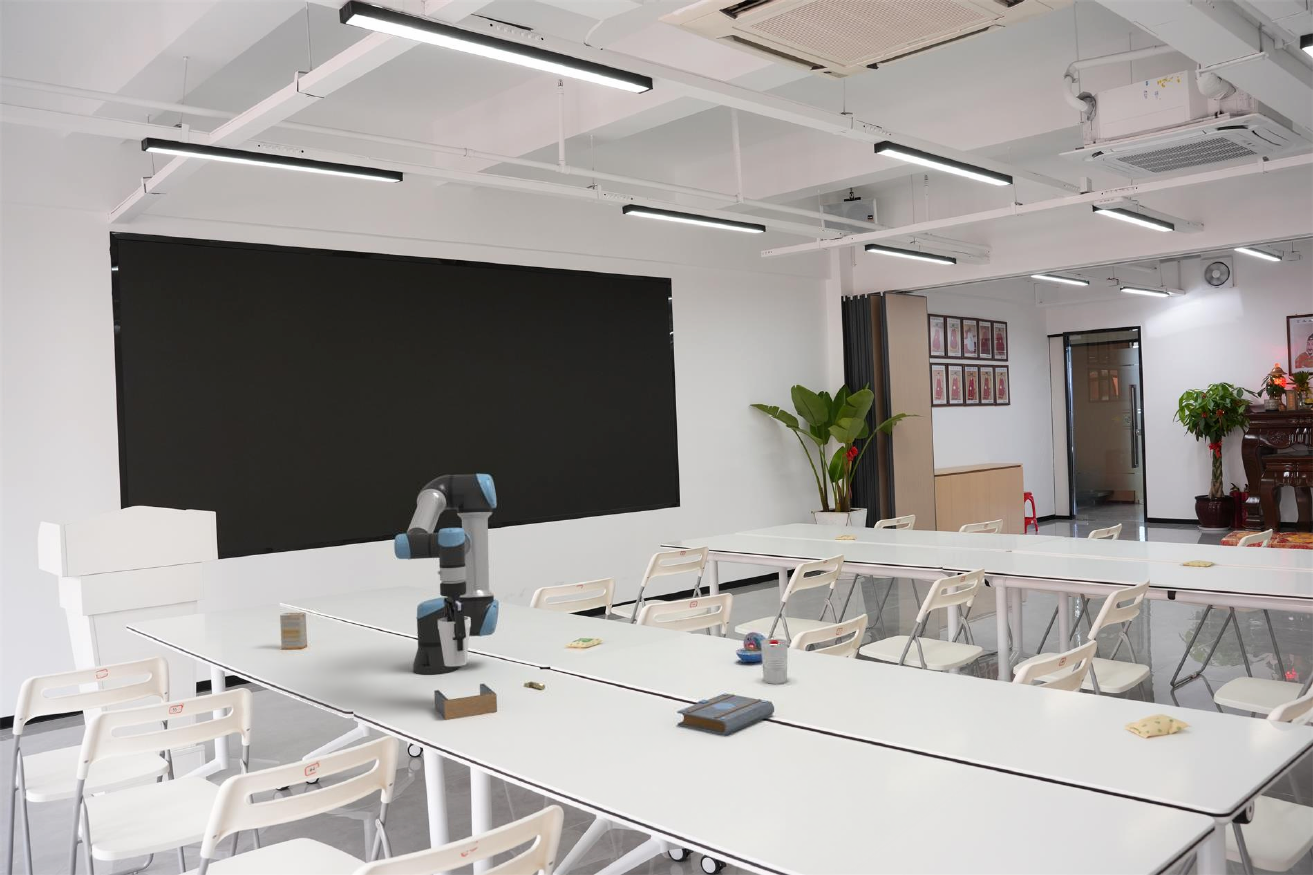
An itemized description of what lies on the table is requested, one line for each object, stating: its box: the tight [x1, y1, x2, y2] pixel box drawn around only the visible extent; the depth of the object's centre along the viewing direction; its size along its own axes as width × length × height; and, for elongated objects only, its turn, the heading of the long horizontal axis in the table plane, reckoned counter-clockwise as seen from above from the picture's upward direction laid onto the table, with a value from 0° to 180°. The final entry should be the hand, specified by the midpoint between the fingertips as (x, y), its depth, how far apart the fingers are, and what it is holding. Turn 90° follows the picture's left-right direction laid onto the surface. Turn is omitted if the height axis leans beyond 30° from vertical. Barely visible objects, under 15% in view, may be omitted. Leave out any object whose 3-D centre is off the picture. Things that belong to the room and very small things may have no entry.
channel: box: [433, 683, 498, 721], centre depth 273 cm, size 13×14×5 cm
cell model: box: [735, 631, 767, 663], centre depth 319 cm, size 10×12×10 cm
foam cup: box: [438, 617, 471, 667], centre depth 282 cm, size 10×9×13 cm
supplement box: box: [279, 612, 308, 650], centre depth 366 cm, size 8×5×13 cm, turn 84°
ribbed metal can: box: [759, 638, 791, 685], centre depth 294 cm, size 10×8×12 cm
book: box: [677, 693, 775, 737], centre depth 255 cm, size 21×16×5 cm
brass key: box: [523, 681, 546, 691], centre depth 295 cm, size 8×2×2 cm, turn 45°
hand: (455, 658), depth 282 cm, fingers closed on foam cup, 9 cm apart
